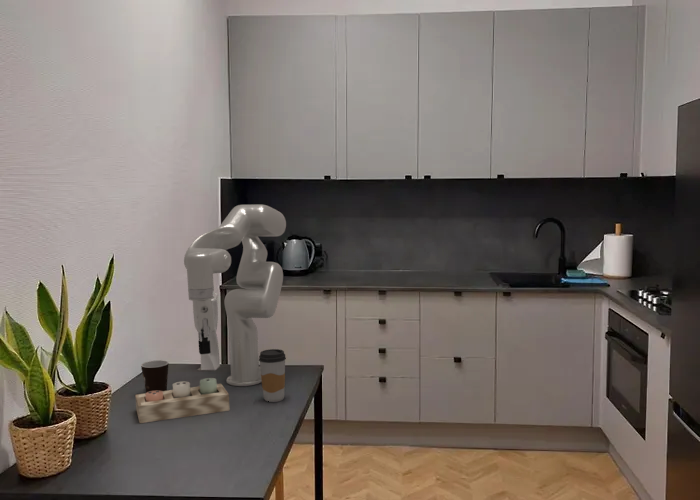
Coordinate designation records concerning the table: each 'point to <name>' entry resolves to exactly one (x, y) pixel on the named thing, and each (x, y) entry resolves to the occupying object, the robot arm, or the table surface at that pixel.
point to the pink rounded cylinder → (154, 396)
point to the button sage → (208, 386)
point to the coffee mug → (155, 375)
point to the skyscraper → (212, 344)
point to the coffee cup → (272, 374)
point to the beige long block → (182, 405)
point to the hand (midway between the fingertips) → (204, 353)
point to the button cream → (181, 389)
